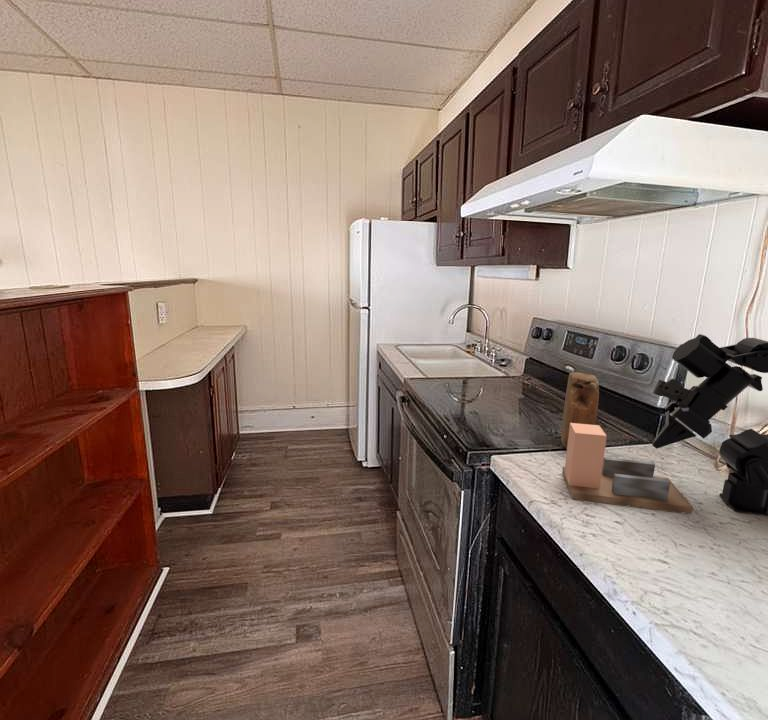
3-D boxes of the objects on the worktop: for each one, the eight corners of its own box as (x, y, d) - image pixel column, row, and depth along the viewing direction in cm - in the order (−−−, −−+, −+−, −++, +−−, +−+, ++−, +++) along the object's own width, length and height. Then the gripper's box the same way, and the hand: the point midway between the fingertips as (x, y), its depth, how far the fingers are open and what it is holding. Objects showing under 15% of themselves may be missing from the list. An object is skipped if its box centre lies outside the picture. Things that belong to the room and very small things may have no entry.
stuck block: (592, 475, 95) (599, 425, 92) (599, 488, 89) (606, 435, 86) (564, 472, 96) (569, 422, 93) (569, 485, 90) (575, 432, 88)
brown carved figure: (559, 438, 119) (567, 369, 115) (588, 441, 117) (597, 372, 112) (562, 453, 109) (570, 379, 105) (593, 458, 107) (603, 382, 102)
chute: (666, 484, 94) (670, 461, 93) (691, 513, 83) (696, 488, 82) (562, 472, 99) (564, 450, 98) (572, 498, 88) (575, 474, 87)
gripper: (673, 365, 94) (620, 415, 99) (683, 364, 78) (620, 424, 83) (720, 399, 90) (663, 450, 94) (742, 406, 73) (672, 466, 78)
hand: (654, 446), depth 88 cm, fingers closed
